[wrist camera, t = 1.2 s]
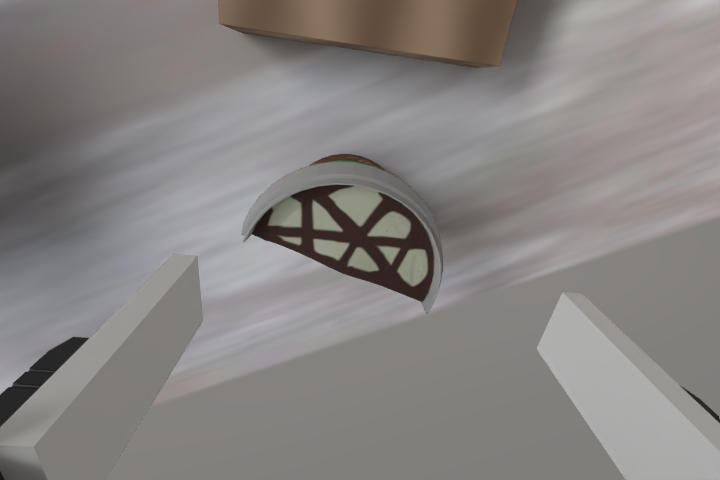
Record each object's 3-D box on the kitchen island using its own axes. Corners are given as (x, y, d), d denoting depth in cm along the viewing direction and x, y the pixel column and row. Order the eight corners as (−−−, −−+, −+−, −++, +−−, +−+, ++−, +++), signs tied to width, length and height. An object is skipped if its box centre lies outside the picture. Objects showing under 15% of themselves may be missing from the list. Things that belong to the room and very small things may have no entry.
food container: (446, 180, 27) (495, 232, 18) (407, 243, 29) (435, 317, 20) (300, 107, 24) (273, 125, 15) (271, 183, 27) (232, 237, 18)
